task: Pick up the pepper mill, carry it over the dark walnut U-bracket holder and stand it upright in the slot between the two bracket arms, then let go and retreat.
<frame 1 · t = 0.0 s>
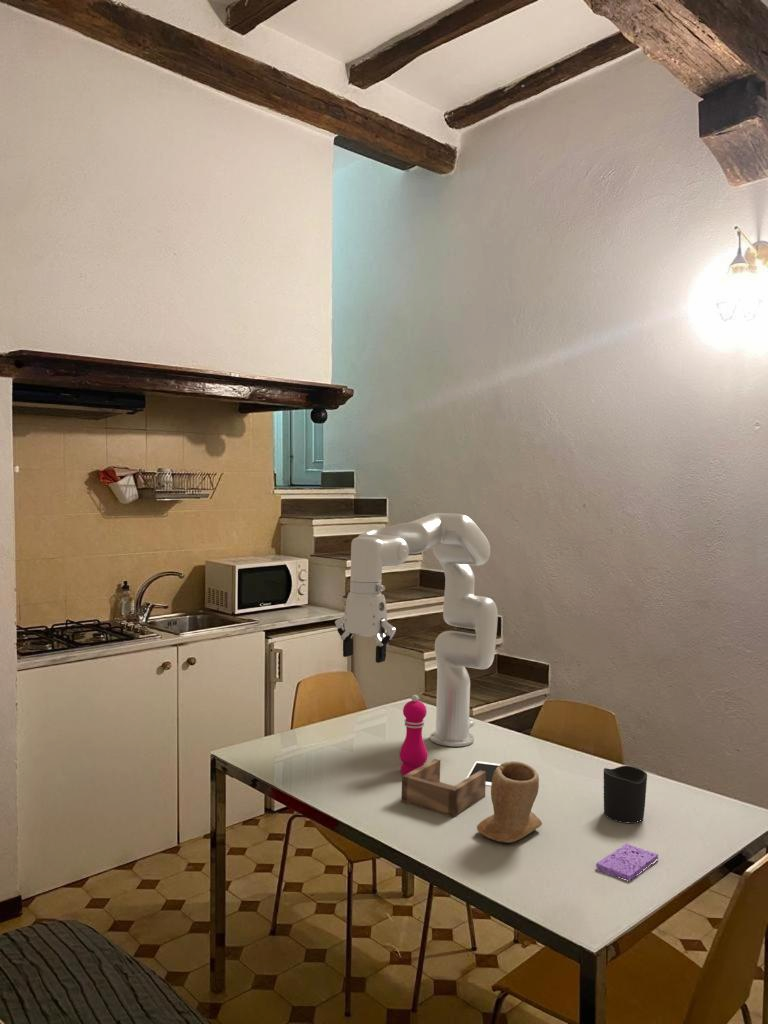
hand: (363, 658, 191), 31 cm above the table, tool pointing down, fingers open, 9 cm apart
pepper mill: (412, 773, 203), on the table
pen holder: (623, 816, 179), on the table
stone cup: (513, 834, 169), on the table
sponges: (627, 868, 156), on the table
cell phone: (485, 776, 204), on the table
holder: (445, 798, 187), on the table
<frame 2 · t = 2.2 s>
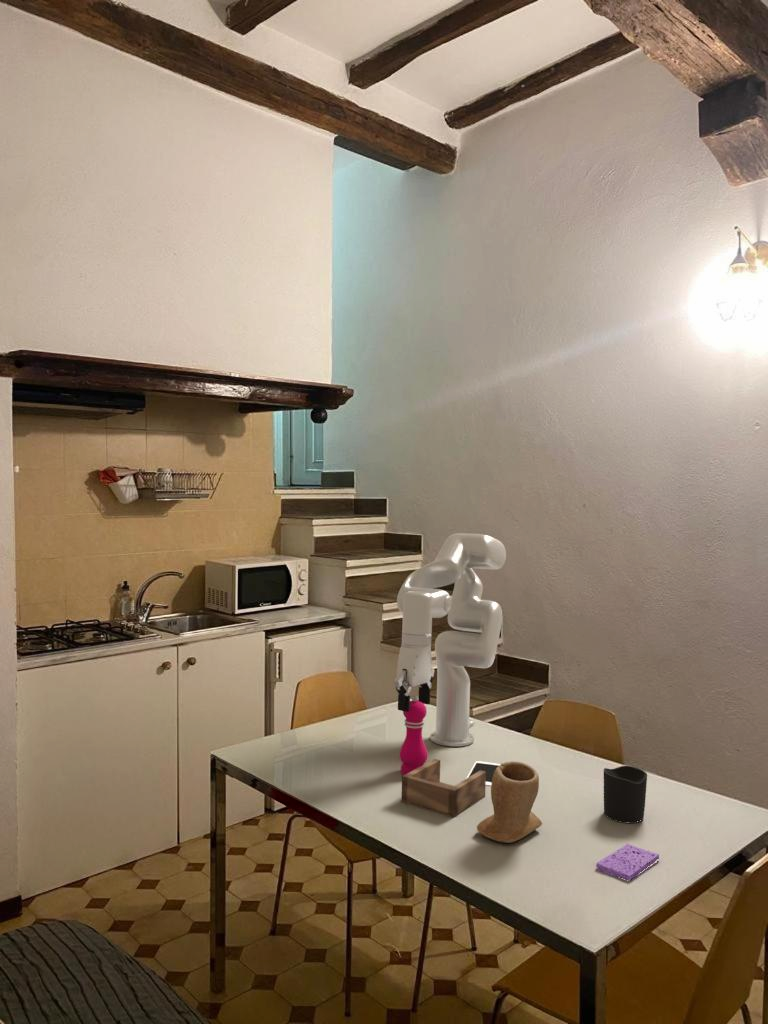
hand: (414, 707, 202), 17 cm above the table, tool pointing down, fingers open, 9 cm apart
nothing on the table moved.
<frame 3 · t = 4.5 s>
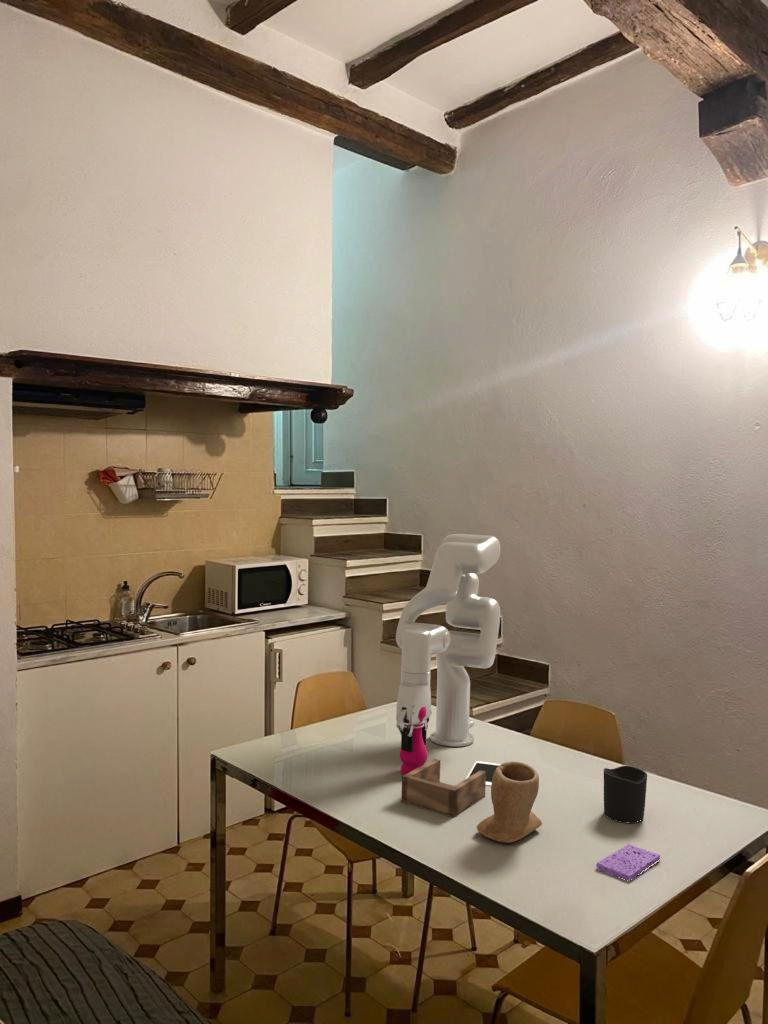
hand: (413, 746, 203), 7 cm above the table, tool pointing down, fingers closed on pepper mill, 5 cm apart
pepper mill: (412, 773, 203), on the table, touching gripper
everything else where it was.
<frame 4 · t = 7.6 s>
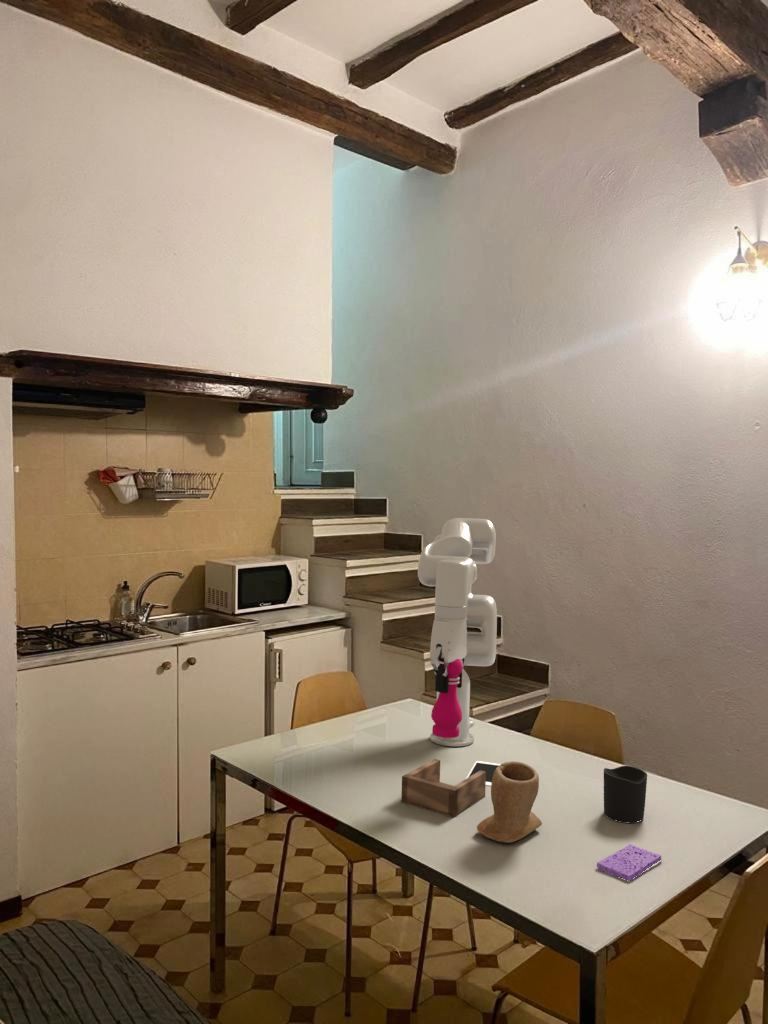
hand: (448, 688, 186), 26 cm above the table, tool pointing down, fingers closed on pepper mill, 5 cm apart
pepper mill: (445, 735, 185), point 15 cm above the table, touching gripper
everything else where it was.
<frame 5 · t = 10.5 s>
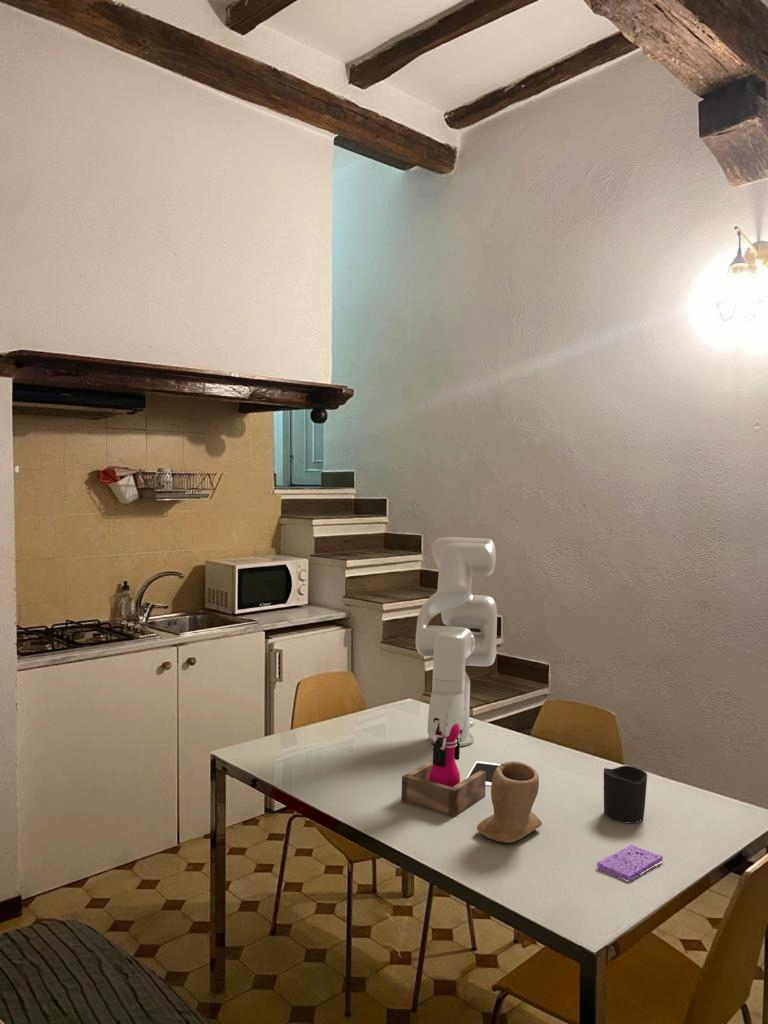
hand: (446, 761, 186), 9 cm above the table, tool pointing down, fingers open, 5 cm apart
pepper mill: (443, 797, 186), point 1 cm above the table, touching gripper, holder
everything else where it was.
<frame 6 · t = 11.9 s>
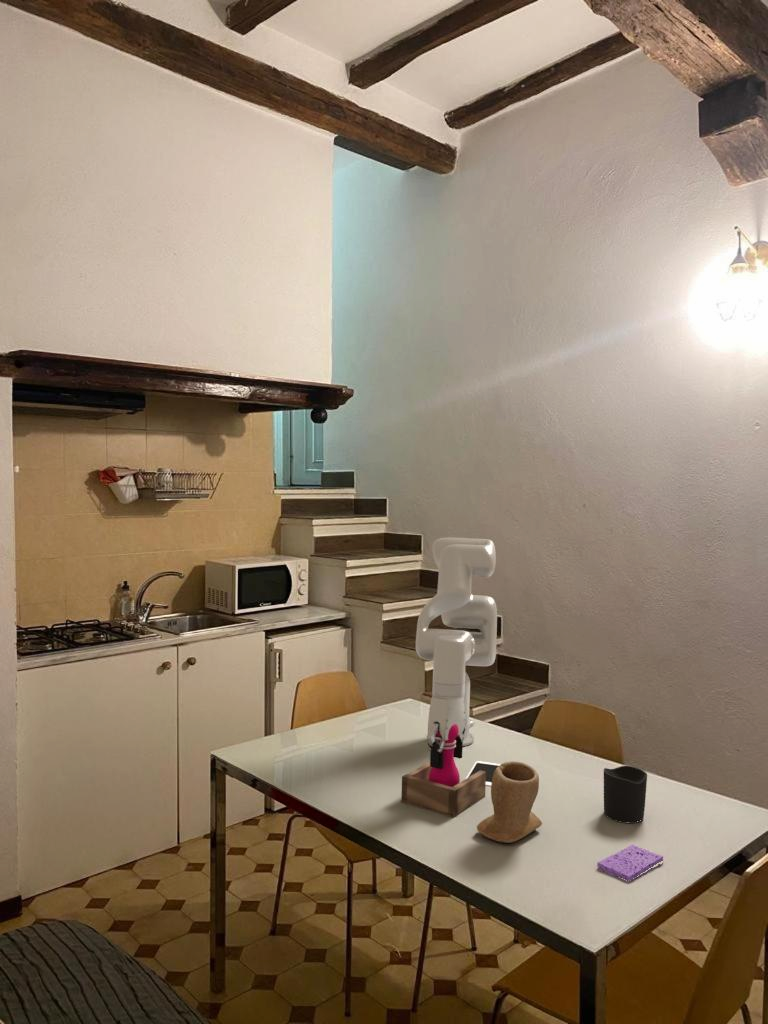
hand: (446, 762, 186), 9 cm above the table, tool pointing down, fingers open, 8 cm apart
pepper mill: (443, 798, 186), resting on holder
everything else where it was.
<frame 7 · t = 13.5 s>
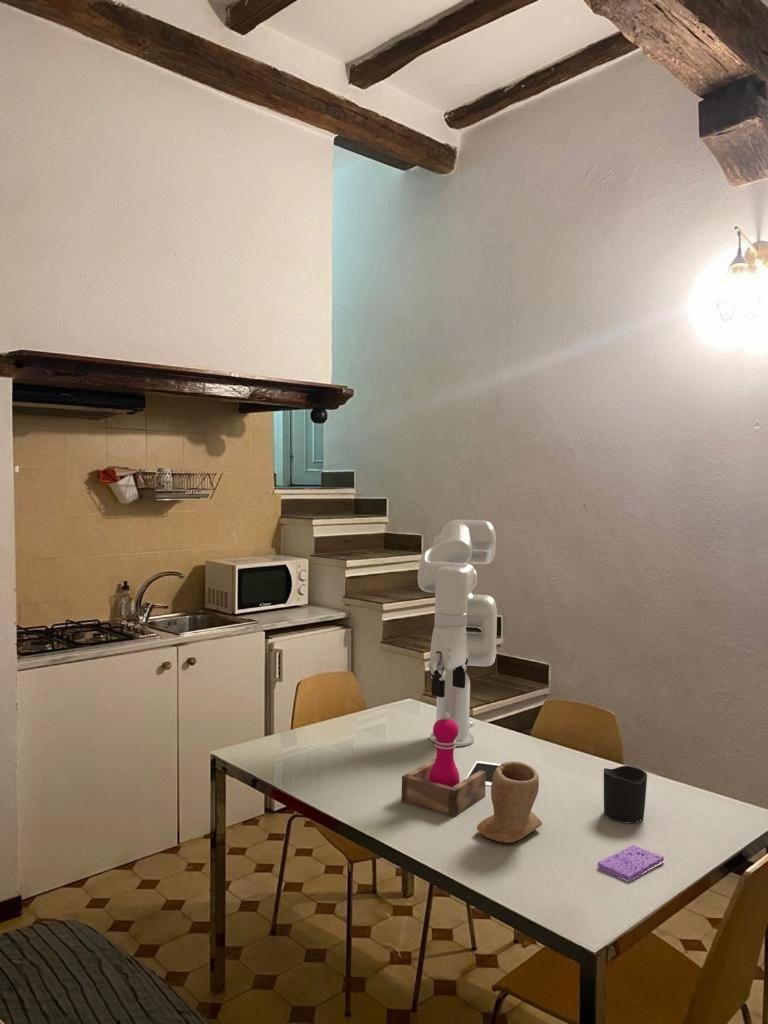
hand: (448, 691, 186), 25 cm above the table, tool pointing down, fingers open, 9 cm apart
nothing on the table moved.
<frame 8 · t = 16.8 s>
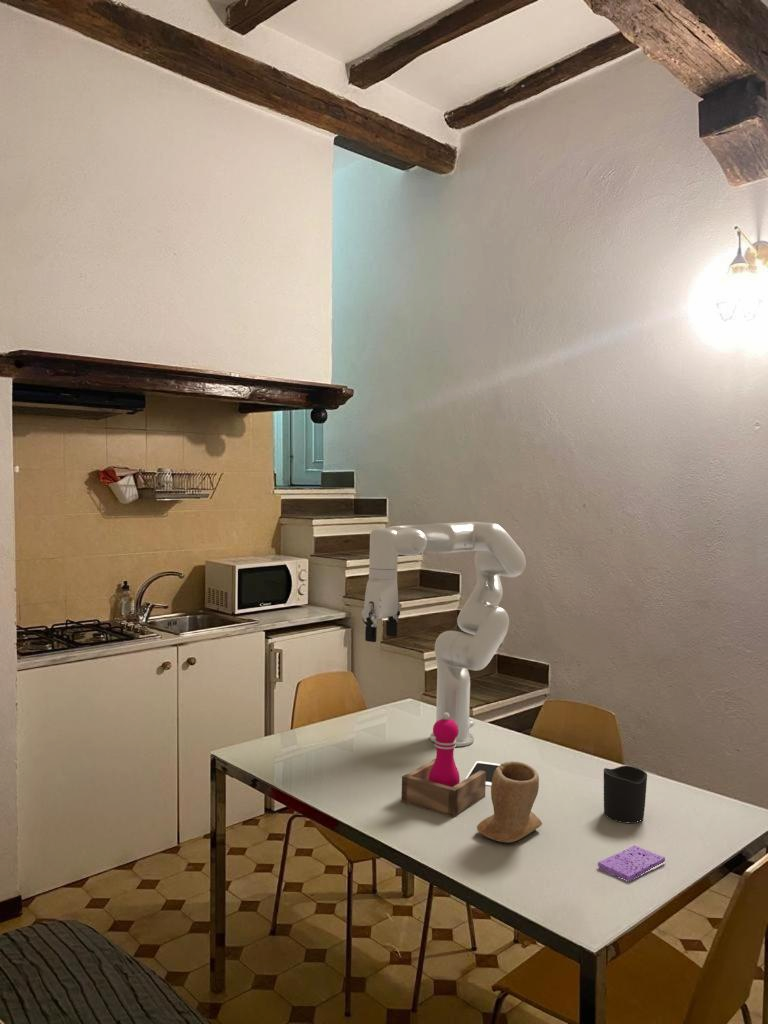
hand: (381, 638, 212), 32 cm above the table, tool pointing down, fingers open, 9 cm apart
nothing on the table moved.
at the end: pepper mill inside the target area on the holder (1.0 cm from its centre), point 0.4 cm above the holder's base; pepper mill tilted 0°; the gripper is holding nothing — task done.
